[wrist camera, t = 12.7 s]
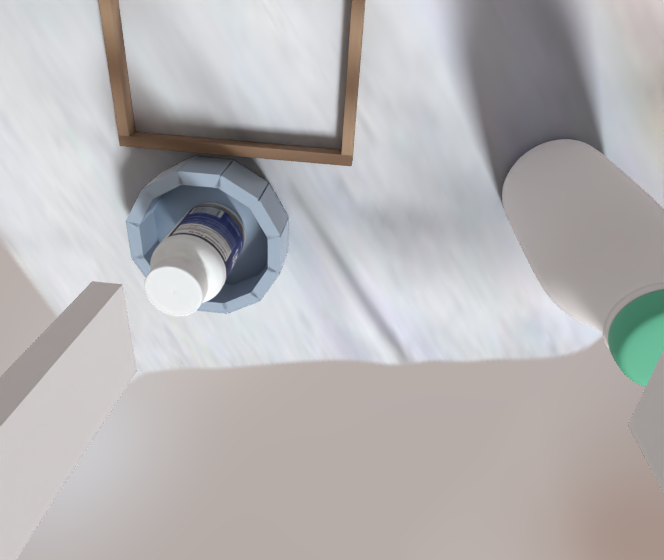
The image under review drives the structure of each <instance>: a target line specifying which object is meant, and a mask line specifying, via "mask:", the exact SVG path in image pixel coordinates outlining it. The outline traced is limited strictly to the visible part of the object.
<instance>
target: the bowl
mask: <svg viewBox="0 0 664 560" xmlns="http://www.w3.org/2000/svg"><path fill="white" fill-rule="evenodd" d="M205 202H214V203H219V204H222V205H224V206H226V207H228V208H229V209H231V210H232V211H233V212H235V213H236V214H237V216H238V217H239V218H240V219H241V221H242V223H243V225H244V228H245V233H246V240H245V244H244V247H243V249H242V251H241V253H240V255H239V257H238V259H237V261H236V263H235V264H234V266H233V268H232V270H231V272H230V274H229V276H228V278H227V279H226V281H225V283H224V285H223V287H222V289H221V290H220V291H219V293H218V294H217V295H216V296H215V297H214V298H212V299H210V300H209V301H207V302H204V303H202V304H201V305H200V307H199V308H198V309H197V311H206V312H216V313H226V314H227V313H231V312H233V311H236V310H238V309H241V308H244V307H246V306H249V305H251V304H254V303H256V302H259V301H260V300H261V299H262V298H263V297H264V295H265V294H266V292H267V291H268V290H269V288H270V287H271V285H272V284H273V283H274V281H275V280H276V279H277V277H278V276H279V274H280V272H281V270H282V267H283V264H284V261H285V259H286V256H287V253H288V226H289V218H288V215H287V213H286V212H285V210H284V208H283V206H282V205H281V203H280V201H279V199H278V198H277V196H276V194H275V192H274V190H273V189H272V187H271V185H270V183H269V184H268V182H267V181H266V180H264V179H263V178H261V177H259V176H258V175H256V174H255V173H253V172H252V171H250V170H249V169H247V168H246V167H244V166H242V165H241V164H239V163H238V162H236V161H235V160H234V161H233V160H231V159H220V158H208V157H197V156H193V157H190V158H188V159H186V160H184V161H182V162H180V163H178V164H176V165H175V166H173V167H171V168H169V169H167V170H165V171H163V172H161V173H160V174H158V175H157V176H156V177H155V178H154V179H153V180H152V181H150V182H149V183H148V184H147V185H146V186H145V187H144V188H142V189H141V192H140V194H139V196H138V198H137V200H136V202H135V204H134V206H133V208H132V210H131V212H130V214H129V216H128V218H127V220H126V221H127V222H126V226H127V232H128V239H129V245H130V252H131V258H132V260H133V261H134V262H135V264H136V265H137V266H138V268H139V269H140V270H141V272H142V273H143V275H144V276H145V277H147V275H148V273H149V272H150V271H151V269H150V262H151V257H152V254H153V252H154V251H155V249H156V248H157V246H158V245H159V244H160V243H161V241H162V240H163V239H164V238H165V237H166V236H167V235H168V233H169V232H170V231H171V230H172V229H173V228H174V226H175V225H176V224H177V223H178V222H179V220H180V219H181V218H182V217H183V216H184V215H185V214H186V213H187V212H188V211H189V210H190V209H191V208H192V207H194V206H195V205H197V204H200V203H205Z"/></svg>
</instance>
